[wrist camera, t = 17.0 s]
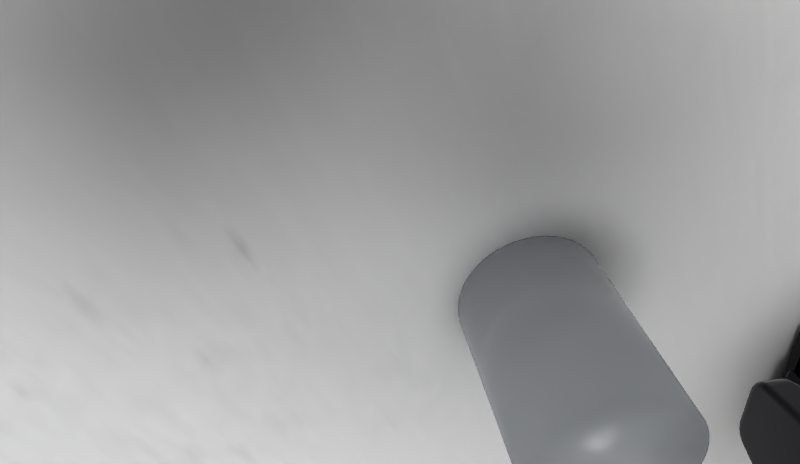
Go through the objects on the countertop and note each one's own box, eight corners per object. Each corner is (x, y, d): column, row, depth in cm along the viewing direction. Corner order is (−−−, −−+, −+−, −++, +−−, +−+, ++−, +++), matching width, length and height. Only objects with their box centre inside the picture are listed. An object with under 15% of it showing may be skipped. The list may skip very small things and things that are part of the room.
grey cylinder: (610, 227, 23) (728, 383, 17) (591, 343, 26) (688, 510, 20) (459, 245, 23) (530, 413, 17) (456, 362, 25) (516, 540, 20)
